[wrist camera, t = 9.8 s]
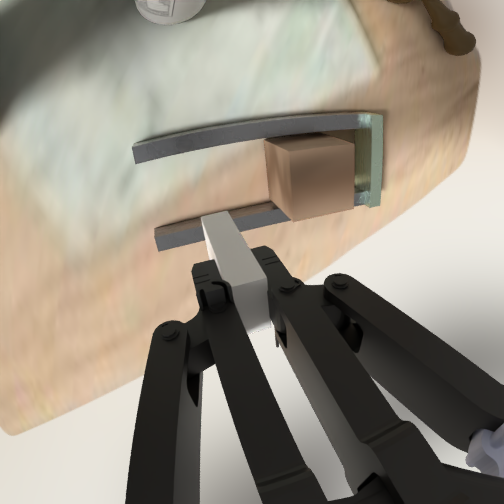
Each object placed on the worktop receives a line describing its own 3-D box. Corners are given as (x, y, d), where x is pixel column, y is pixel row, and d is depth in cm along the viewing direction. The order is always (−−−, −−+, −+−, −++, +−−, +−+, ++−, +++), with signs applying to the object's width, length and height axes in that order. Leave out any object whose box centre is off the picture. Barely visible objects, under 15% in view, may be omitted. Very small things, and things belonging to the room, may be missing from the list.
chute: (133, 143, 24) (130, 149, 21) (365, 111, 28) (382, 114, 26) (158, 241, 29) (158, 256, 27) (364, 196, 34) (380, 205, 31)
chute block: (263, 139, 27) (288, 151, 22) (320, 132, 28) (354, 143, 23) (269, 198, 30) (293, 222, 25) (322, 188, 31) (353, 208, 26)
